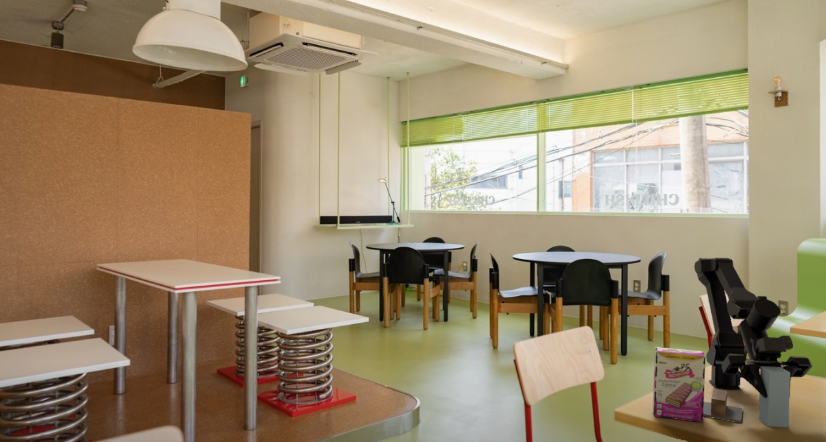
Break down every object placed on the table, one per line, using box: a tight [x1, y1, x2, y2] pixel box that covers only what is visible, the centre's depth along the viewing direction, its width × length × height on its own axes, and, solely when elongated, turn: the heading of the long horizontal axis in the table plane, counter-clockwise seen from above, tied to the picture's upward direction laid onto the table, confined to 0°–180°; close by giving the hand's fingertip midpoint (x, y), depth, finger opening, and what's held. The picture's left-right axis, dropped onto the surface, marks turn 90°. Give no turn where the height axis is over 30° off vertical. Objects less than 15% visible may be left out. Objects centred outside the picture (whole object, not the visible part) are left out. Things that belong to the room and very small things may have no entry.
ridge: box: [710, 388, 728, 417], centre depth 145 cm, size 3×9×4 cm, turn 149°
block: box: [758, 366, 791, 428], centre depth 138 cm, size 4×4×13 cm
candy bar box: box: [652, 346, 706, 423], centre depth 141 cm, size 11×5×16 cm, turn 71°
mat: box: [703, 401, 743, 424], centre depth 145 cm, size 10×10×1 cm
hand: (777, 397), depth 136 cm, fingers closed on block, 4 cm apart
